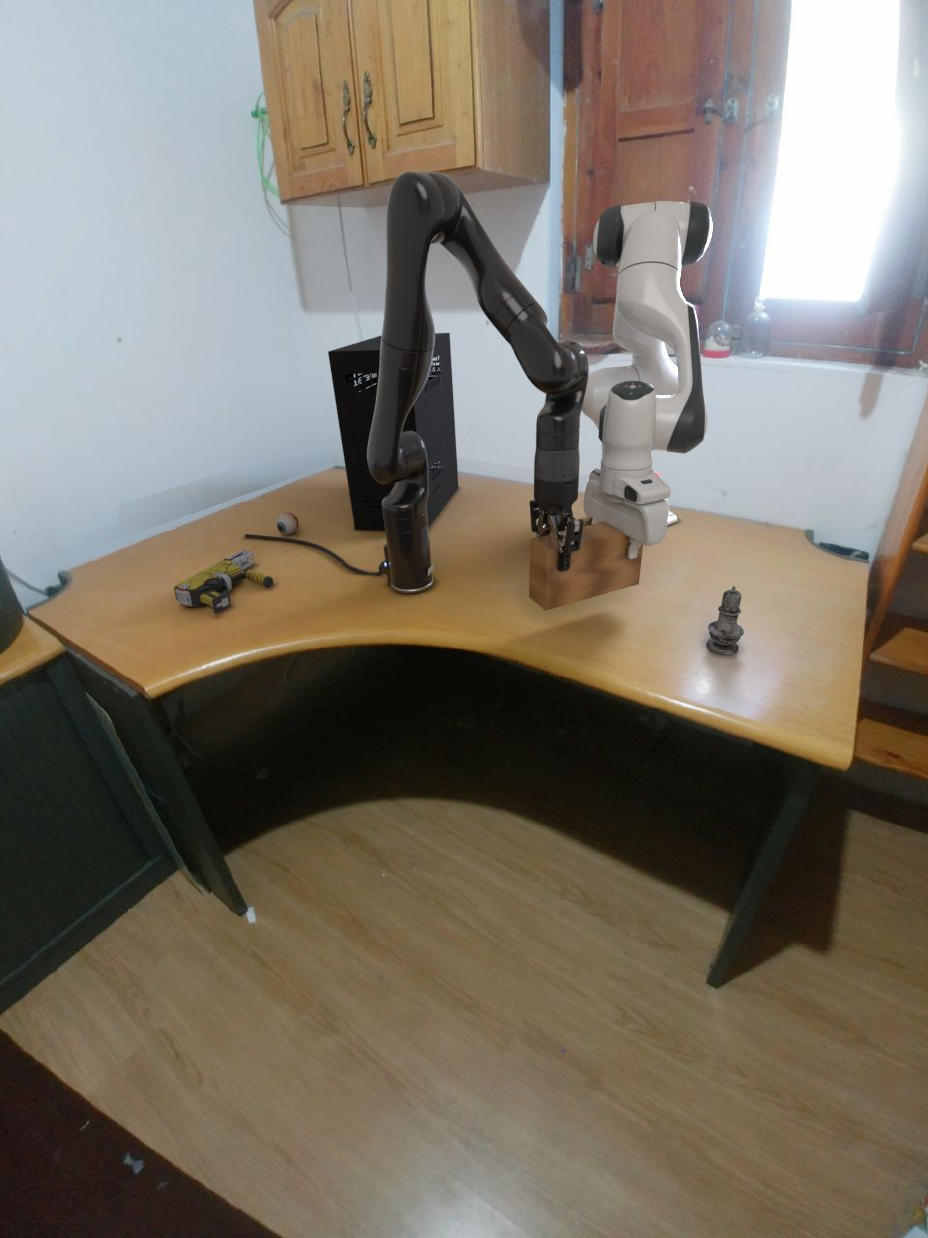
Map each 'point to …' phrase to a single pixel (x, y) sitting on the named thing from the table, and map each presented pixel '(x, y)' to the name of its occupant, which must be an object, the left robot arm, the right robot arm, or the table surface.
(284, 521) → the eyeball
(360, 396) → the cardboard box
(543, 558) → the box
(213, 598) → the toy gun
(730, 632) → the dark grey chess piece
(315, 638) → the table surface
